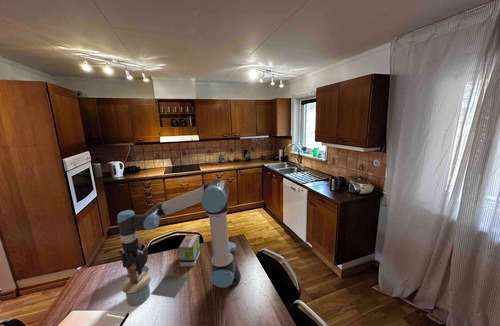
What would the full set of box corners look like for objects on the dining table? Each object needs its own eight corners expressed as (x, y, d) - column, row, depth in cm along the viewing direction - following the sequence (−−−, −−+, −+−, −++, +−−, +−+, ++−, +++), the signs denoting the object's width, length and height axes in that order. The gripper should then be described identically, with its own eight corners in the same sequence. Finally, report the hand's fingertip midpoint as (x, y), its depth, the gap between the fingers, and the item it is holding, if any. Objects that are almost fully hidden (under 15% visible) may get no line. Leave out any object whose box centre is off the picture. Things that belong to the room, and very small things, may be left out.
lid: (156, 274, 116) (154, 259, 114) (138, 294, 103) (135, 277, 101) (135, 272, 119) (132, 256, 117) (115, 291, 106) (112, 274, 104)
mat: (188, 278, 126) (188, 277, 126) (174, 298, 111) (174, 297, 111) (166, 275, 129) (166, 274, 129) (150, 294, 115) (150, 294, 114)
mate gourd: (139, 282, 124) (135, 253, 120) (120, 279, 127) (115, 250, 123) (156, 265, 139) (152, 238, 135) (138, 263, 142) (134, 237, 138)
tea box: (194, 266, 136) (193, 247, 133) (180, 267, 136) (177, 247, 134) (200, 252, 151) (198, 234, 148) (187, 253, 151) (185, 235, 148)
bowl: (154, 291, 117) (152, 279, 115) (140, 308, 106) (138, 295, 105) (137, 288, 119) (135, 277, 118) (122, 305, 109) (120, 292, 107)
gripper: (148, 237, 108) (154, 275, 112) (121, 234, 111) (127, 271, 116) (138, 245, 100) (144, 286, 105) (109, 242, 104) (117, 281, 108)
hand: (135, 278), depth 110 cm, fingers closed on lid, 4 cm apart
